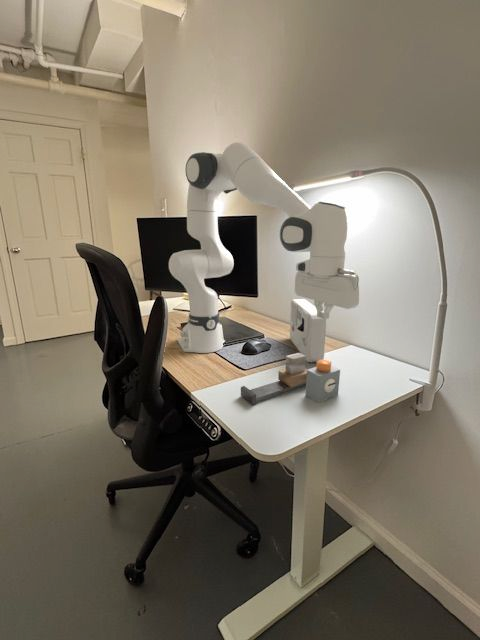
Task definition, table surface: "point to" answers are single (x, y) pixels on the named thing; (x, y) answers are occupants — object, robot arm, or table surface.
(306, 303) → the rounded white slab
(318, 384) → the cabinet
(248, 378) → the table surface
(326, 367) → the button
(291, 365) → the carriage
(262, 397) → the rail
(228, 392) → the table surface
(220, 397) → the table surface
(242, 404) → the table surface
